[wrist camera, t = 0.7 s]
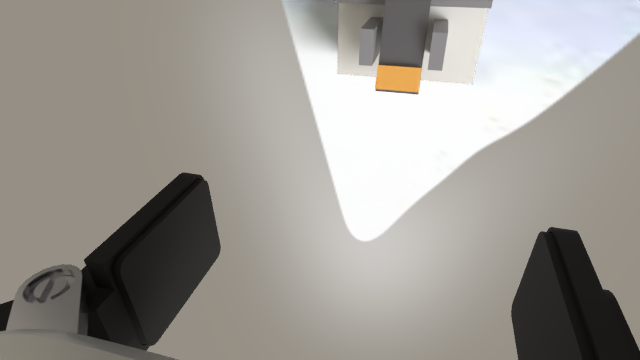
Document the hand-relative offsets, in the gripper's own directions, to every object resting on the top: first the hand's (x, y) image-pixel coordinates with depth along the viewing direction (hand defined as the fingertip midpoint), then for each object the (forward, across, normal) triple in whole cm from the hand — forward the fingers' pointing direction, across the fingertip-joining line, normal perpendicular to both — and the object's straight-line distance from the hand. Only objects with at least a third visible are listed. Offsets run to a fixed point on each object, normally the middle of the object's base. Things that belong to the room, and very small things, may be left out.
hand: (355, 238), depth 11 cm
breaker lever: (+13, 0, -2) cm, 13 cm away
